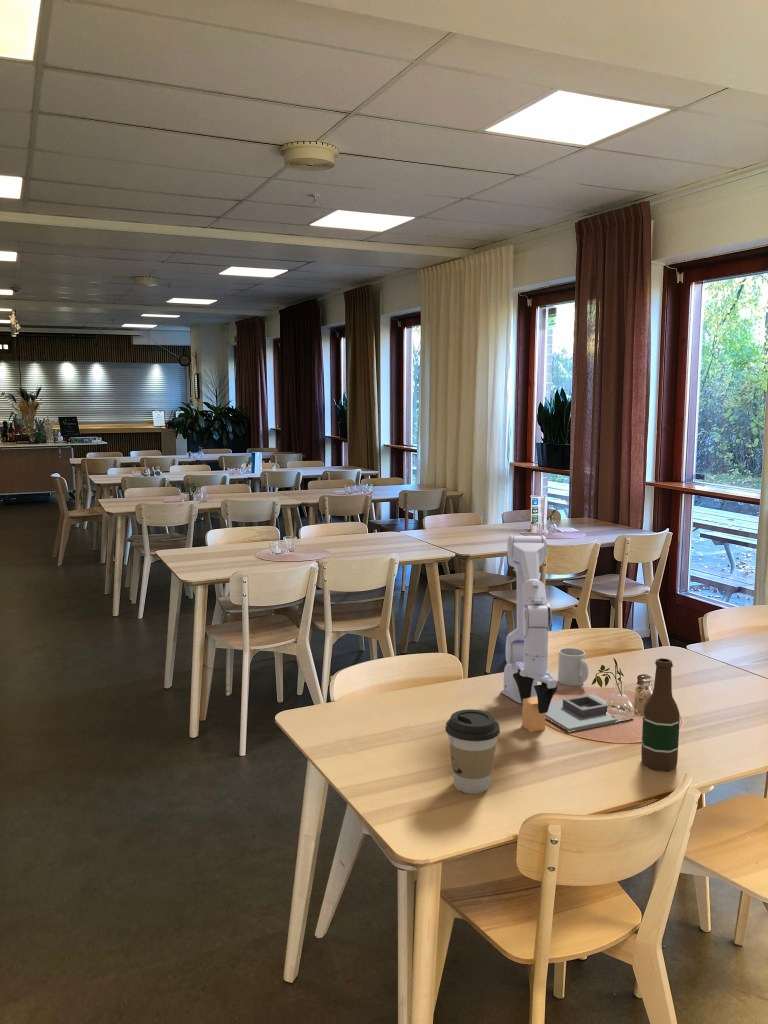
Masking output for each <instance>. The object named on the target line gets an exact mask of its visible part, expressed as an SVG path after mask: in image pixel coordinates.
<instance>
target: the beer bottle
mask: <svg viewBox="0 0 768 1024" xmlns="http://www.w3.org/2000/svg"><path fill="white" fill-rule="evenodd" d="M654 664H655V666H656V667H655V674H654V675H655V676H654V682H653V690H652V692H651V694H650V695H649V697H648V698H647V699H646V701H645V704H644V706H643V711H642V717H643V718H642V728H641V729H642V731H641V732H642V734H641V755H640V757H641V761H642V764H643V766H644V767H645V768H648V769H650V770H652V771H654V772H655V771H656V772H667V773H668V772H670V771H673V770H674V769H676V768H677V765H678V755H679V742H680V741H679V738H680V737H679V735H680V722H681V721H680V720H681V719H680V711H679V707H678V705H677V702H676V701H675V699H674V697H673V689H672V687H673V686H672V685H673V683H672V682H673V681H672V677H673V676H672V668H673V667H674V665H673V661H672V660H671V659H668V658H663V657H661V658H658V659H657V658H656V660H655V662H654Z"/></svg>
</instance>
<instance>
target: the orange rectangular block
mask: <svg viewBox="0 0 768 1024" xmlns="http://www.w3.org/2000/svg"><path fill="white" fill-rule="evenodd" d="M545 715H546V713H539V710H538V699H537V696H536V697H530V698H525V699H523V703H522V716H521V717H522V718H521V719H522V721H521V726H522V727H523V728H524V729H526V730H528V731H529V732H530V733H533V732H539V731H543V730H546V718H545Z"/></svg>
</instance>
